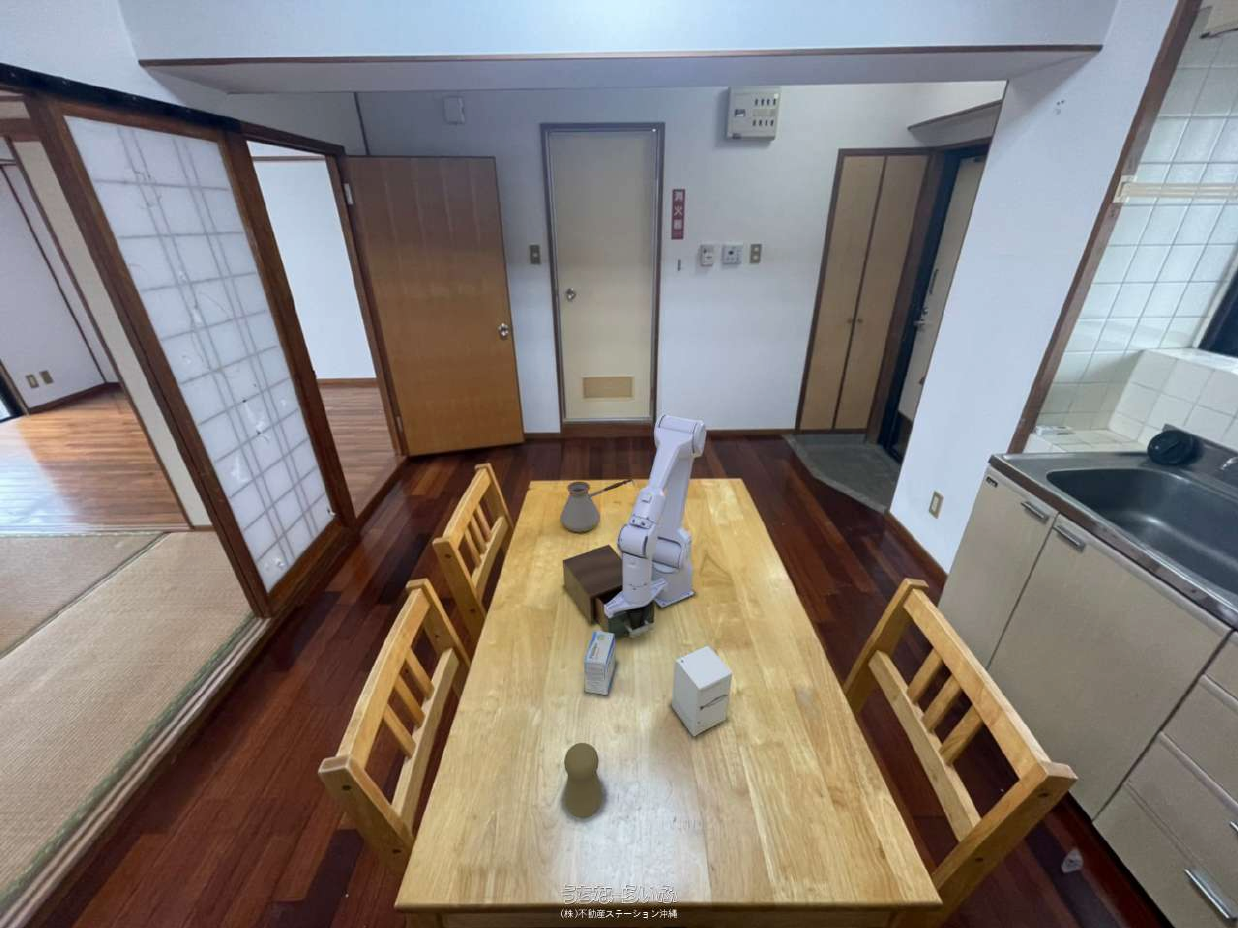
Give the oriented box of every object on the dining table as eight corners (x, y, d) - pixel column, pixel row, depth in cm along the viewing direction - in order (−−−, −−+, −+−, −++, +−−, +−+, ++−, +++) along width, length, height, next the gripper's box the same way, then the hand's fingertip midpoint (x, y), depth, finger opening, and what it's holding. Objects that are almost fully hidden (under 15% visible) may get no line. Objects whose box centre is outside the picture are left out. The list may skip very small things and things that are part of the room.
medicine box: (607, 696, 99) (606, 664, 95) (584, 692, 100) (583, 660, 95) (615, 663, 106) (615, 632, 102) (594, 660, 106) (593, 629, 102)
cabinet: (639, 604, 121) (639, 577, 117) (591, 624, 115) (589, 597, 111) (609, 569, 132) (608, 544, 128) (564, 586, 126) (562, 560, 123)
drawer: (665, 636, 111) (666, 614, 108) (619, 657, 106) (618, 634, 103) (623, 587, 125) (623, 566, 122) (581, 603, 120) (580, 582, 117)
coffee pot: (559, 537, 145) (556, 491, 138) (561, 514, 155) (558, 470, 148) (635, 535, 145) (635, 489, 138) (632, 512, 155) (633, 468, 148)
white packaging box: (693, 738, 91) (698, 689, 85) (670, 706, 97) (673, 658, 91) (727, 721, 94) (733, 672, 88) (703, 690, 100) (707, 643, 94)
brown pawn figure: (564, 780, 85) (560, 737, 80) (601, 776, 85) (600, 734, 80) (564, 819, 79) (560, 776, 74) (603, 815, 80) (602, 772, 75)
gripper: (654, 554, 109) (652, 603, 115) (595, 579, 102) (597, 629, 108) (675, 572, 104) (672, 622, 110) (614, 600, 97) (615, 651, 103)
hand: (636, 627), depth 109 cm, fingers closed, pressing on drawer
